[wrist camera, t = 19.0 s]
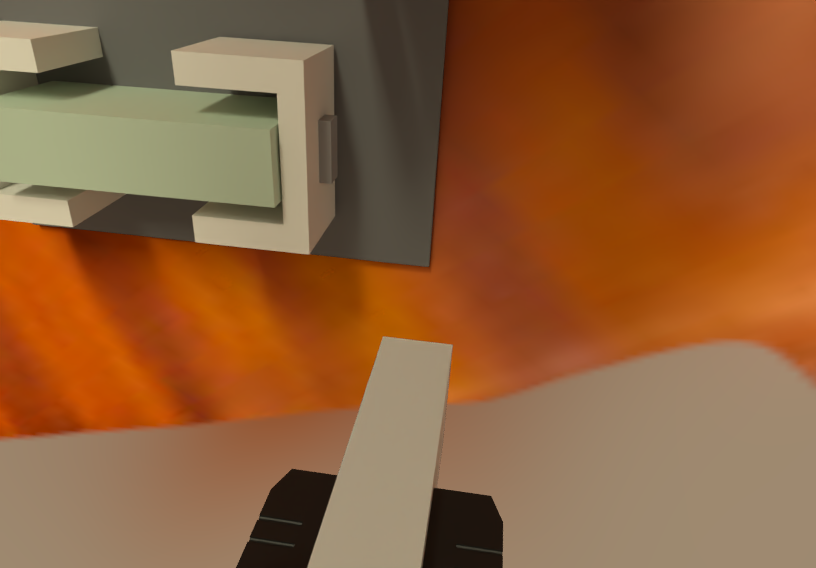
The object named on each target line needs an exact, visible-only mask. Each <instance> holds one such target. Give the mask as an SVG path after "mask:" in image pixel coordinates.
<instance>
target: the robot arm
mask: <svg viewBox="0 0 816 568" xmlns="http://www.w3.org/2000/svg"><path fill="white" fill-rule="evenodd" d="M452 347H453V345H450V344H442V343H434V342H425V341H417V340H409V339H401V338H392V337H384V336H383V339H382V342H381V345H380V348H379V351H378V354H377V357H376V360H375V363H374V366H373V369H372V372H371V375H370V378H369V381H368V384H367V387H366V390H365V393H364V396H363V399H362V402H361V405H360V409H359V412H358V415H357V418H356V421H355V424H354V427H353V430H352V433H351V436H350V439H349V442H348V445H347V448H346V451H345V454H344V457H343V460H342V464H341V467H340V469H339V472H338V475H331V474H324V473H317V472H309V471H303V470H296V469H292V470H290V471H289V472H288V473H287V474H286V475H285V476H284V477H283V478H282V479H281V480H280V481H279V482H278V483H277V484H276V485H275V486H274V487H273V488H272V489H271V490H270V493H269V495H268V497H267V499H266V502H265V504H264V506H263V508H262V511H261V513H260V517H259V520H257V522H256V524H255V527H254V529H253V531H252V533H251V535H250V540H249V542H247V544H246V547H245V549H244V551H243V553H242V556H241V558H240V560H239V563H238V565H237V567H236V568H502V566H503V565H502V564H503V561H502V560H503V556H502V552H503V521H502V519H501V517H500V515H499V513H498V510H497V508H496V506H495V504H494V501H493V499H492V497H491V496H487V495H480V494H473V493H466V492H460V491H453V490H445V489H438V488H437V483H438V475H439V468H440V461H441V453H442V446H443V437H444V426H445V417H446V407H447V397H448V387H449V377H450V367H451V357H452Z"/></svg>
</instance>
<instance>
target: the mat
mask: <svg viewBox="0 0 816 568" xmlns="http://www.w3.org/2000/svg"><path fill="white" fill-rule="evenodd" d="M448 5H449V0H0V21H16V22H30V23H44V24H58V25H72V26H86V27H98V31H99V37H100V43H101V48H102V54H103V57H100V58H96V59H92V60H88V61H84V62H80V63H76V64H72V65H68V66H64V67H60V68H56V69H52V70H48V71H44V72H40V73H36V76H37V80H38V85H39V84H42V83H46V82H50V81H64V82H77V83H90V84H103V85H116V86H129V87H142V88H155V89H168V90H181V91H194V92H207V93H220V94H233V95H246V96H259V97H273V98H277V93H266V92H253V91H241V90H229V89H216V88H204V87H192V86H179V85H175V79H174V71H173V64H172V56H171V50H175V49H178V48H182V47H185V46H189V45H192V44H196V43H199V42H203V41H206V40H210V39H214V38H217V37H231V38H245V39H258V40H272V41H286V42H300V43H314V44H328V45H334V115H337V163H338V176H337V178H336V179H335V217H334V218H333V220H332V221H331V223H330V224H329V226H328V227H327V229H326V230H325V232H324V233H323V235H322V236H321V238H320V239H319V241H318V242H317V244H316V245H315V247H314V248H313V250H312V251H311V253H310V254H313V255H323V256H332V257H341V258H350V259H360V260H369V261H378V262H387V263H397V264H406V265H415V266H424V267H429V264H430V252H431V238H432V224H433V211H434V197H435V183H436V169H437V156H438V142H439V128H440V114H441V101H442V87H443V73H444V60H445V46H446V32H447V18H448ZM208 202H209V201H199V200H188V199H178V198H167V197H157V196H147V195H136V194H126V195H124V196H122V197H121V198H119V199H118V200H116V201H114V202H113V203H111V204H110V205H108V206H106V207H105V208H103V209H102V210H100V211H98V212H97V213H95V214H94V215H92V216H90V217H89V218H87V219H86V220H84V221H82V222H81V223H79V224H78V225H76V226H74V227H66V226H57V225H48V224H38V223H33V224H36V225H45V226H55V227H64V228H73V229H82V230H92V231H101V232H110V233H119V234H129V235H138V236H147V237H156V238H165V239H175V240H184V241H193V242H195V236H194V228H193V220H192V215H193V214H194V213H195V212H197V211H198V210H199V209H200V208H202V207H203V206H204V205H205V204H206V203H208Z"/></svg>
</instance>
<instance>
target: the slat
mask: <svg viewBox="0 0 816 568" xmlns="http://www.w3.org/2000/svg"><path fill="white" fill-rule="evenodd" d="M0 181H1V182H11V183H22V184H32V185H43V186H53V187H63V188H74V189H84V190H95V191H105V192H115V193H126V194H136V195H147V196H157V197H167V198H178V199H188V200H199V201H209V202H220V203H230V204H240V205H251V206H261V207H272V208H275V207H276V206H277V205H278V204H279V203H280V202H281V200H282V185H281V166H280V146H279V127H278V108H277V98H273V97H259V96H246V95H233V94H220V93H207V92H194V91H181V90H168V89H155V88H142V87H129V86H116V85H103V84H90V83H77V82H64V81H50V82H46V83H42V84H39V85H35V86H32V87H28V88H24V89H21V90H17V91H13V92H10V93H6V94H3V95H0Z"/></svg>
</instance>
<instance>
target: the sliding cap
mask: <svg viewBox="0 0 816 568" xmlns="http://www.w3.org/2000/svg"><path fill="white" fill-rule="evenodd" d="M171 56H172V64H173V71H174V79H175V85H179V86H192V87H204V88H216V89H229V90H241V91H253V92H266V93H277V108H278V127H279V146H280V166H281V185H282V200H281V202H280V203H279V204H278V205H277V206H276V207H275V208H272V207H261V206H251V205H240V204H230V203H220V202H208V203H206V204H205V205H204V206H203V207H202V208H200V209H199V210H198V211H197V212H195V213H194V214H193V215H192V220H193V228H194V236H195V242H197V243H207V244H216V245H225V246H234V247H243V248H253V249H262V250H271V251H280V252H290V253H299V254H308V255H309V254H310V253H311V251H312V250H313V248H314V247H315V245H316V244H317V242H318V241H319V239H320V238H321V236H322V235H323V233H324V232H325V230H326V229H327V227H328V226H329V224H330V223H331V221H332V220H333V218H334V217H335V179H336V178H337V176H338V163H337V115H334V45H328V44H314V43H300V42H286V41H272V40H258V39H245V38H231V37H217V38H214V39H210V40H206V41H203V42H199V43H196V44H192V45H189V46H185V47H182V48H178V49H175V50H171Z"/></svg>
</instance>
